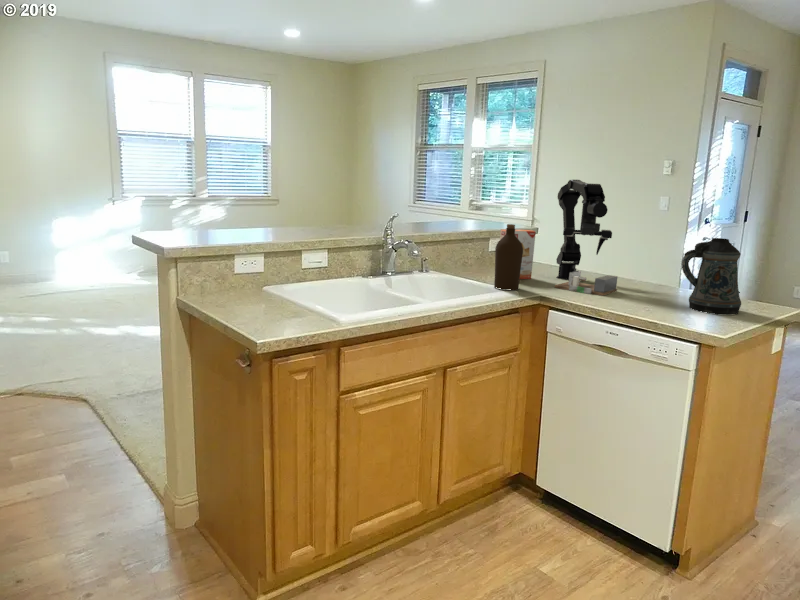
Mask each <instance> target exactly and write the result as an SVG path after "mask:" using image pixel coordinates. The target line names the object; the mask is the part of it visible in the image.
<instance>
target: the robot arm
mask: <svg viewBox="0 0 800 600" xmlns="http://www.w3.org/2000/svg"><path fill="white" fill-rule="evenodd" d="M580 197H582V201H581V203H582V209H581V216H580V217H581V220H580V227H579V228H580V229H576V223H575V222H576V221H575V209H576V208H575V207H576V206H577V205H578V202H579V199H580ZM557 200H558V205H559V207H560V208H561V210H562V215H563V216H562V218H563V219H562V221H563V231H562V235H563V243H562V245H561V246H560V250H559V251H560V252H559V253H558V255H557V258H556V264H557V265H558V275H557V276H556V279H562V280H568V281H569V273H570V272H574V271H577V268H576V267H577V266H579V264H580V262H581V258H582V253H581V245H580V243H578V242H577V241H576V235H582V236H590V237H593V236H597V237H598V236H599V240H598V244H597V248H596V254H595V255H596V256H598V254H599V252H600V249H601V248H602V245H603V244H604V243H605V241H608V240H609V239H612V238H613V237H612V236H613V232H612V230H611V229H600V228H601V223H599V222H597V218H603V217H605V216H606V214H607V213H608V206H607V204H605V203H604V202H605V201H606V196H605V193H604V189H603V187H602V184H601V183H589V182H588V183H587V182H585V181H583V180H580V179H569V180H568V181H567V183H565V184H564V185H563V186H561V187H560V189H559V191H558V193H557Z"/></svg>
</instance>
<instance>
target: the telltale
mask: <svg viewBox="0 0 800 600" xmlns="http://www.w3.org/2000/svg"><path fill="white" fill-rule="evenodd" d="M573 286H579V277H578V276H574V277H573Z"/></svg>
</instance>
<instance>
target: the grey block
mask: <svg viewBox="0 0 800 600" xmlns="http://www.w3.org/2000/svg"><path fill="white" fill-rule="evenodd" d="M581 274H582V270H576V271H574V272H570V273H569V280H568V282H569V283H568V285H573V277H574V276H578V277H579V283H581V282H586V281H587V277H585V276H581Z"/></svg>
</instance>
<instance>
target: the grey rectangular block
mask: <svg viewBox="0 0 800 600" xmlns="http://www.w3.org/2000/svg"><path fill="white" fill-rule="evenodd" d="M594 285H595V286H594V291H596V292H602V293H605V292H608V291H611V290H614V289H617V285H618V276H616V275H610V274H608V275H603V276H599V277H595V278H594Z"/></svg>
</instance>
